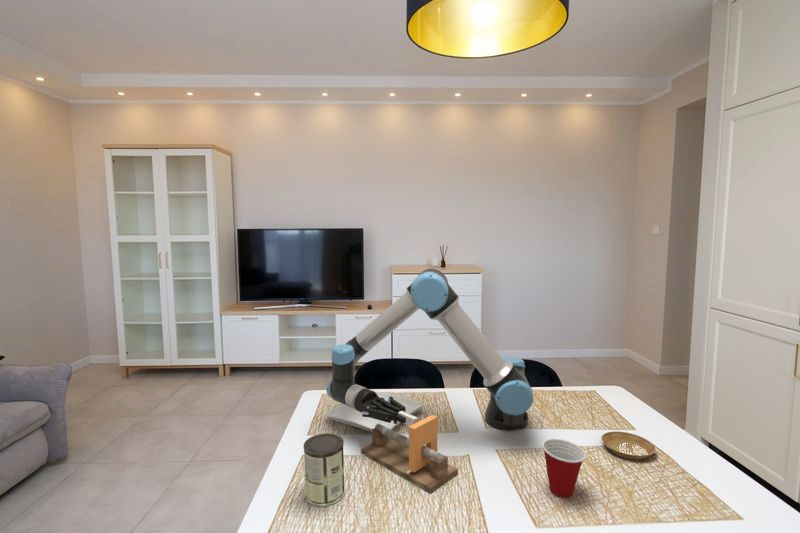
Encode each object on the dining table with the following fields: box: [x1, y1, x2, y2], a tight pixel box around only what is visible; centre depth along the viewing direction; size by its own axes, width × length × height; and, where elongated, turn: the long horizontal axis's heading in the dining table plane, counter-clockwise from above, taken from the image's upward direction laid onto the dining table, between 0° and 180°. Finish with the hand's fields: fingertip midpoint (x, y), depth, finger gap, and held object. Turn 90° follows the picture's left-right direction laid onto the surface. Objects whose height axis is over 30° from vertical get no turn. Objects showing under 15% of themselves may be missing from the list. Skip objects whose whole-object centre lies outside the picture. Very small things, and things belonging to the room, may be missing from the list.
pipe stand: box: [360, 424, 459, 494], centre depth 123 cm, size 28×12×8 cm, turn 46°
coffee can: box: [303, 432, 346, 507], centre depth 109 cm, size 10×10×14 cm
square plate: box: [324, 390, 425, 433], centre depth 154 cm, size 27×27×4 cm
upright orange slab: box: [408, 414, 438, 472], centre depth 118 cm, size 2×10×12 cm, turn 135°
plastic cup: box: [541, 438, 587, 499], centre depth 109 cm, size 11×11×12 cm
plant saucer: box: [601, 430, 656, 461], centre depth 130 cm, size 15×15×3 cm
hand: (415, 422), depth 119 cm, fingers closed
